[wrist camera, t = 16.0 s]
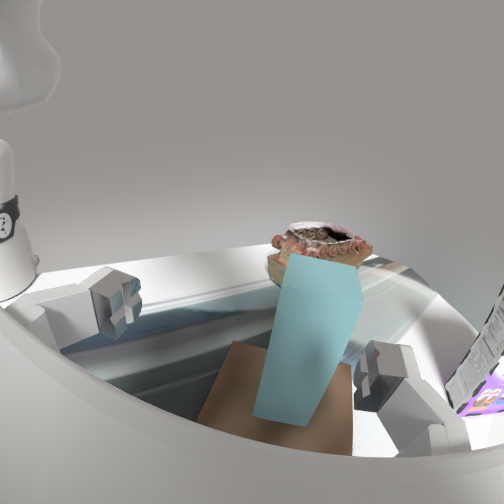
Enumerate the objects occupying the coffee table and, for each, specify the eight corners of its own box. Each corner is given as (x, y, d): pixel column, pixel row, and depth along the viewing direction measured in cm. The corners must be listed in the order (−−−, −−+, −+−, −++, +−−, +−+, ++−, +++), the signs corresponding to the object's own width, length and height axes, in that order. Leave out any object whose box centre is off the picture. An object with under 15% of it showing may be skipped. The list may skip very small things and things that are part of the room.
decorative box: (249, 266, 51) (256, 216, 47) (330, 257, 60) (340, 215, 56) (287, 306, 40) (300, 246, 37) (372, 286, 49) (387, 239, 45)
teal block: (252, 416, 21) (281, 285, 16) (263, 378, 26) (290, 252, 20) (306, 426, 21) (363, 301, 15) (310, 387, 25) (355, 266, 19)
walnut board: (187, 444, 18) (186, 440, 18) (232, 346, 31) (233, 340, 31) (346, 476, 16) (351, 472, 16) (347, 370, 29) (350, 365, 28)
